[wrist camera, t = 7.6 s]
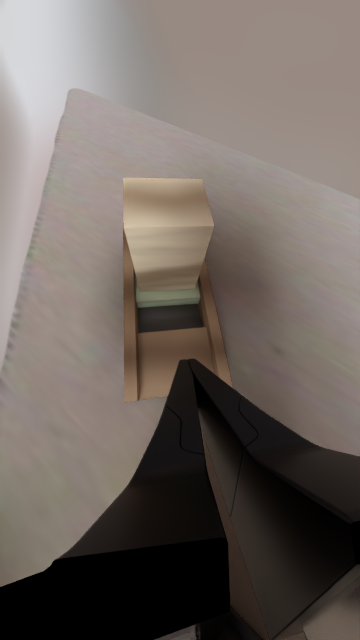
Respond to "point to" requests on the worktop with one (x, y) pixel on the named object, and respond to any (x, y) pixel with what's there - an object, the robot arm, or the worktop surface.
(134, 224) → the block
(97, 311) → the worktop surface
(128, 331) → the track
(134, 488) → the robot arm
